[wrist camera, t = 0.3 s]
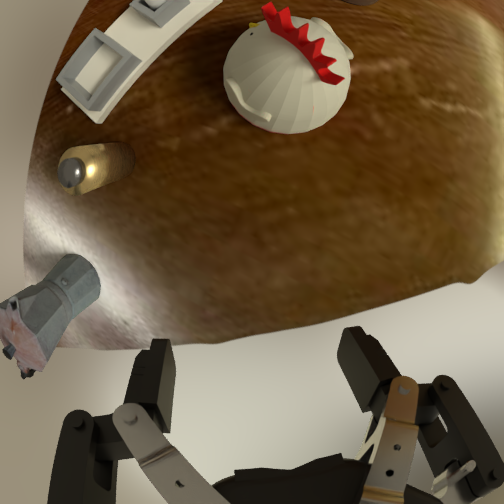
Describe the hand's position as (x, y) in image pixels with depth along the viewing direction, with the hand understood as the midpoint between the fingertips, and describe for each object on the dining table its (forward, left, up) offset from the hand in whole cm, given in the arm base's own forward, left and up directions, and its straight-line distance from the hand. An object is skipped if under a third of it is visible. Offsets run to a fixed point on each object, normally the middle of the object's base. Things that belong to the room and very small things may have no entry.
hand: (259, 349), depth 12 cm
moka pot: (+27, -12, -23) cm, 38 cm away
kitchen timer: (-14, -9, -23) cm, 29 cm away
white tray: (-6, -27, -23) cm, 36 cm away
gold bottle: (+7, -17, -23) cm, 30 cm away
